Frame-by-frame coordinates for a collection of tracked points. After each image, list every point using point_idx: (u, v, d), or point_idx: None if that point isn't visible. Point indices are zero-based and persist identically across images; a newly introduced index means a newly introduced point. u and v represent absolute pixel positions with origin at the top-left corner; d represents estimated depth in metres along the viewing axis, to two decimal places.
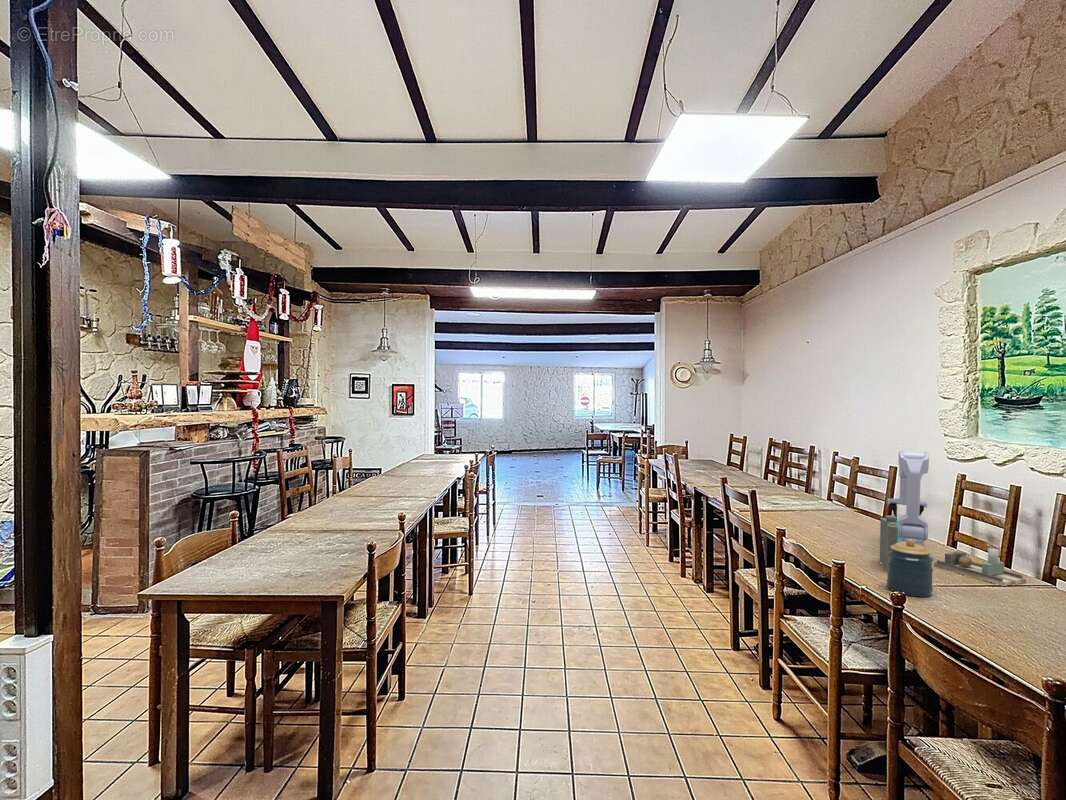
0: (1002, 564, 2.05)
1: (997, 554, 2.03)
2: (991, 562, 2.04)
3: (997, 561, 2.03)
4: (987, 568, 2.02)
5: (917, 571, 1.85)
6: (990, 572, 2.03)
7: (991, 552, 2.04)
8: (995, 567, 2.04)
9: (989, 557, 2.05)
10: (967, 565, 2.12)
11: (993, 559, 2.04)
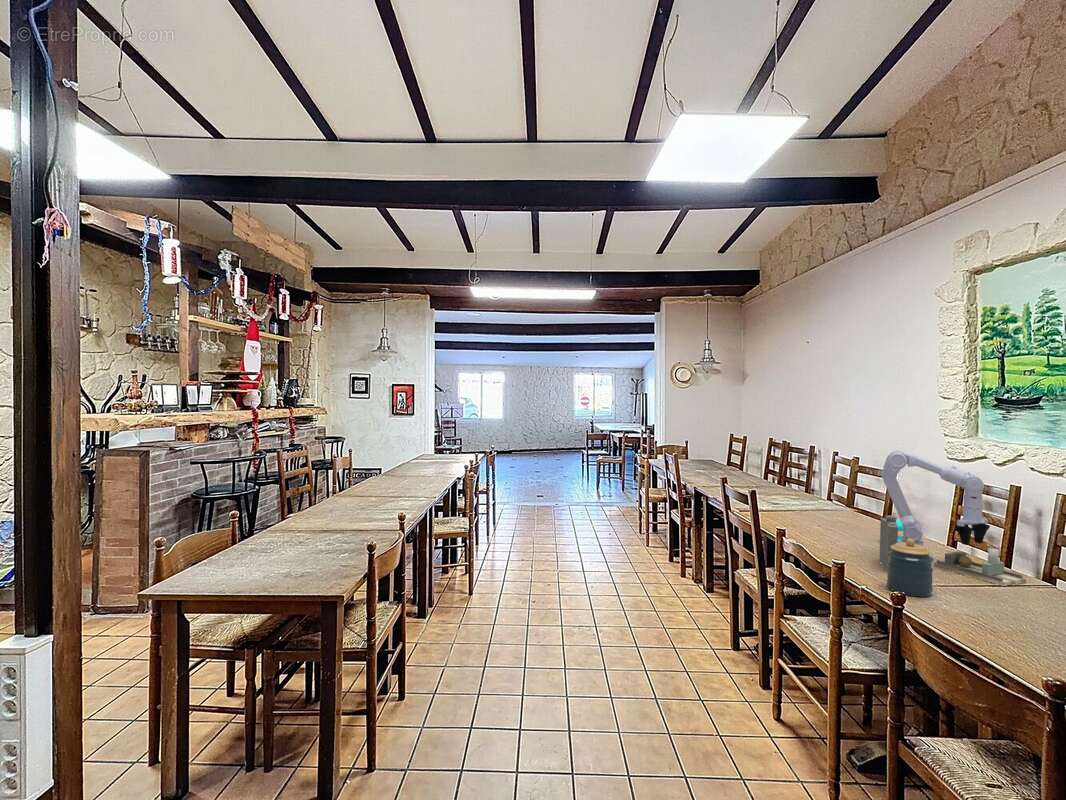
0: (1002, 564, 2.05)
1: (997, 554, 2.03)
2: (991, 562, 2.04)
3: (997, 561, 2.03)
4: (987, 568, 2.02)
5: (917, 571, 1.85)
6: (990, 572, 2.03)
7: (991, 552, 2.04)
8: (995, 567, 2.04)
9: (989, 557, 2.05)
10: (967, 565, 2.12)
11: (993, 559, 2.04)
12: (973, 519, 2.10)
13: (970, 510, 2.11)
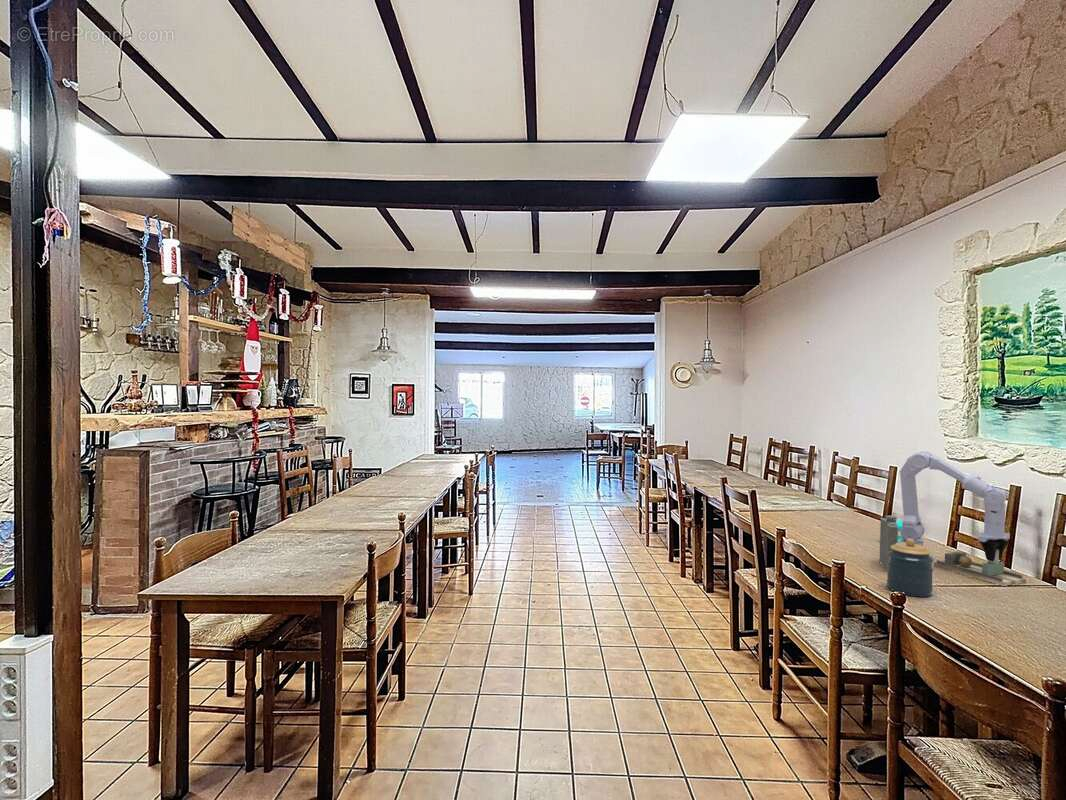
0: (1002, 564, 2.05)
1: (997, 554, 2.03)
2: (991, 562, 2.04)
3: (997, 561, 2.03)
4: (987, 568, 2.02)
5: (917, 571, 1.85)
6: (990, 572, 2.03)
7: None
8: (995, 567, 2.04)
9: None
10: (967, 565, 2.12)
11: None
12: (995, 534, 2.02)
13: (992, 525, 2.03)
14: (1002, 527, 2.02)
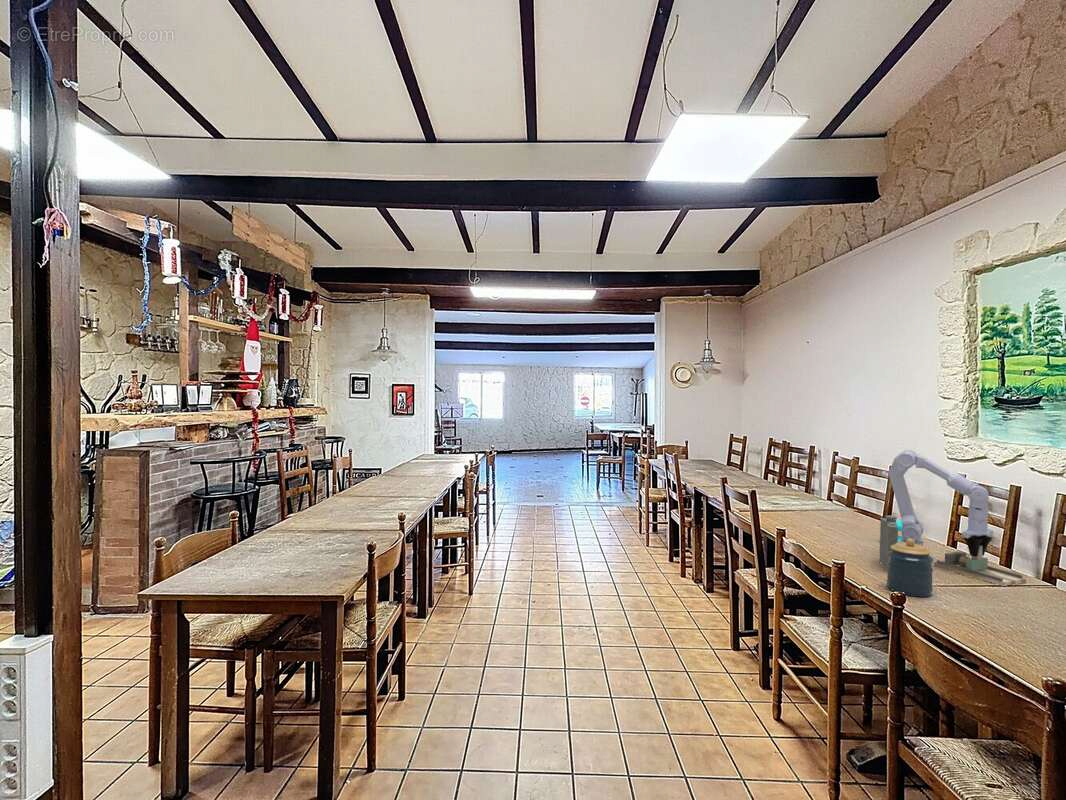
0: (986, 560, 2.10)
1: (981, 550, 2.08)
2: (975, 558, 2.09)
3: (981, 557, 2.08)
4: (971, 563, 2.07)
5: (917, 571, 1.85)
6: (974, 568, 2.08)
7: None
8: (978, 562, 2.09)
9: None
10: None
11: None
12: (978, 531, 2.07)
13: (975, 521, 2.08)
14: (985, 524, 2.07)
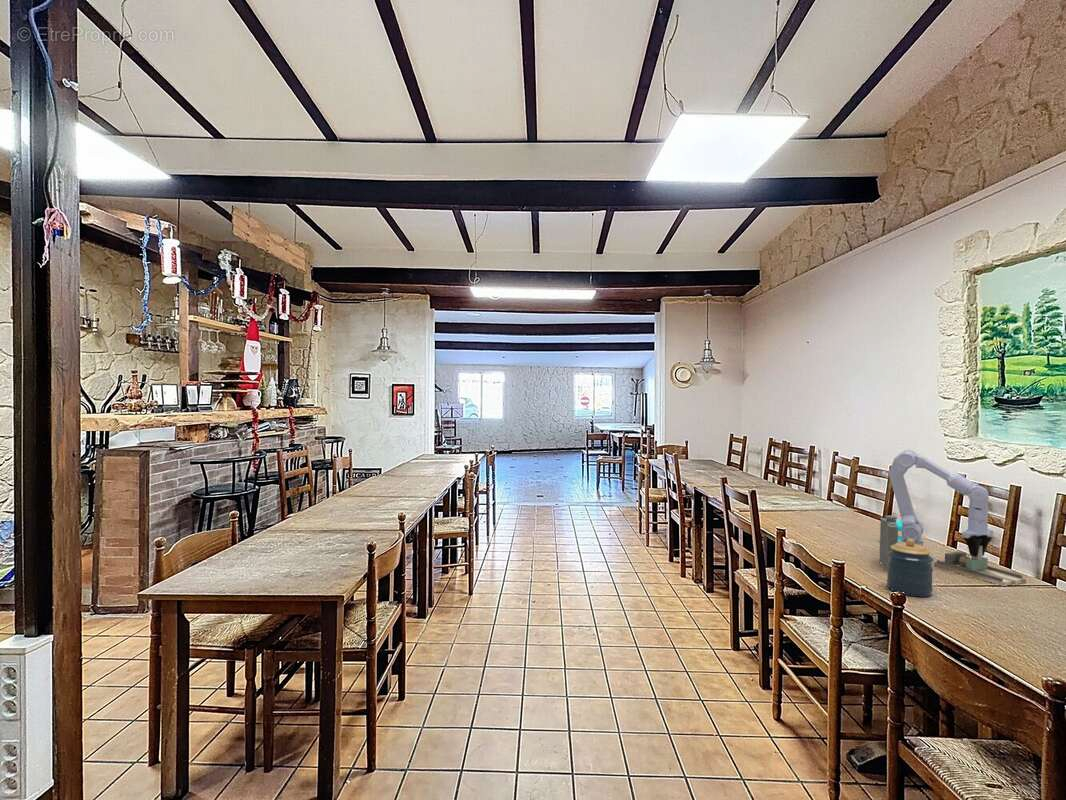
0: (985, 560, 2.10)
1: (980, 550, 2.08)
2: (975, 558, 2.09)
3: (980, 557, 2.08)
4: (971, 563, 2.07)
5: (917, 571, 1.85)
6: (974, 568, 2.08)
7: None
8: (978, 562, 2.09)
9: None
10: None
11: None
12: (978, 531, 2.07)
13: (975, 521, 2.08)
14: (985, 524, 2.07)
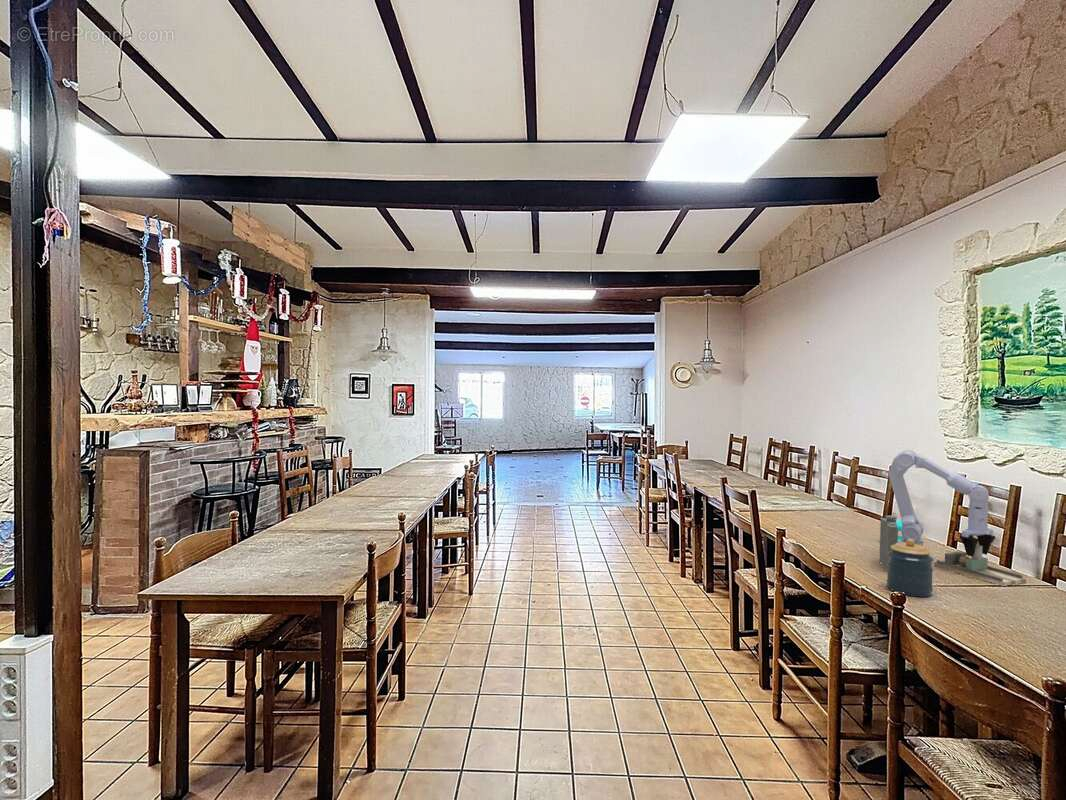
0: (985, 560, 2.10)
1: (980, 550, 2.08)
2: (975, 558, 2.09)
3: (980, 557, 2.08)
4: (971, 563, 2.07)
5: (917, 571, 1.85)
6: (974, 568, 2.08)
7: None
8: (978, 562, 2.09)
9: None
10: None
11: (976, 554, 2.09)
12: (978, 530, 2.07)
13: (975, 521, 2.08)
14: (985, 523, 2.07)
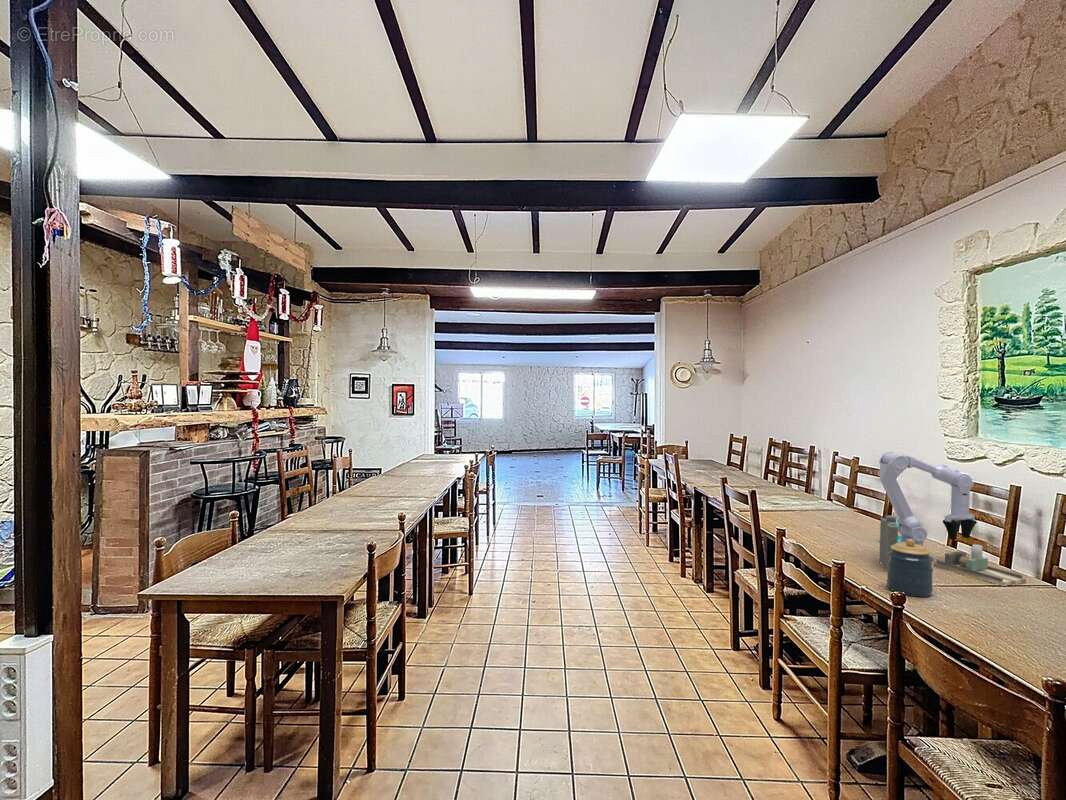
0: (985, 560, 2.10)
1: (980, 550, 2.08)
2: (975, 558, 2.09)
3: (980, 557, 2.08)
4: (971, 563, 2.07)
5: (917, 571, 1.85)
6: (974, 568, 2.08)
7: (974, 548, 2.09)
8: (978, 562, 2.09)
9: (973, 553, 2.10)
10: None
11: (976, 554, 2.09)
12: (960, 515, 2.18)
13: (957, 506, 2.18)
14: (967, 508, 2.17)
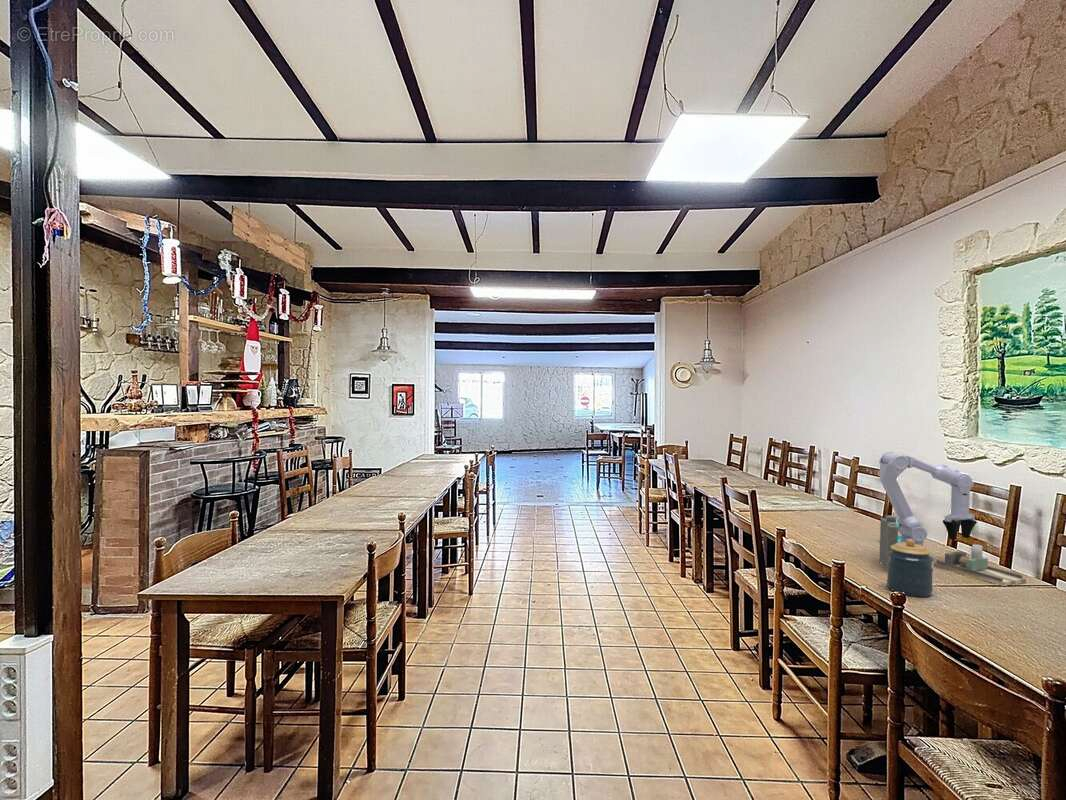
0: (985, 560, 2.10)
1: (980, 550, 2.08)
2: (975, 558, 2.09)
3: (980, 557, 2.08)
4: (971, 563, 2.07)
5: (917, 571, 1.85)
6: (974, 568, 2.08)
7: (974, 548, 2.09)
8: (978, 562, 2.09)
9: (973, 553, 2.10)
10: None
11: (976, 554, 2.09)
12: (960, 515, 2.18)
13: (957, 506, 2.18)
14: (967, 508, 2.17)
